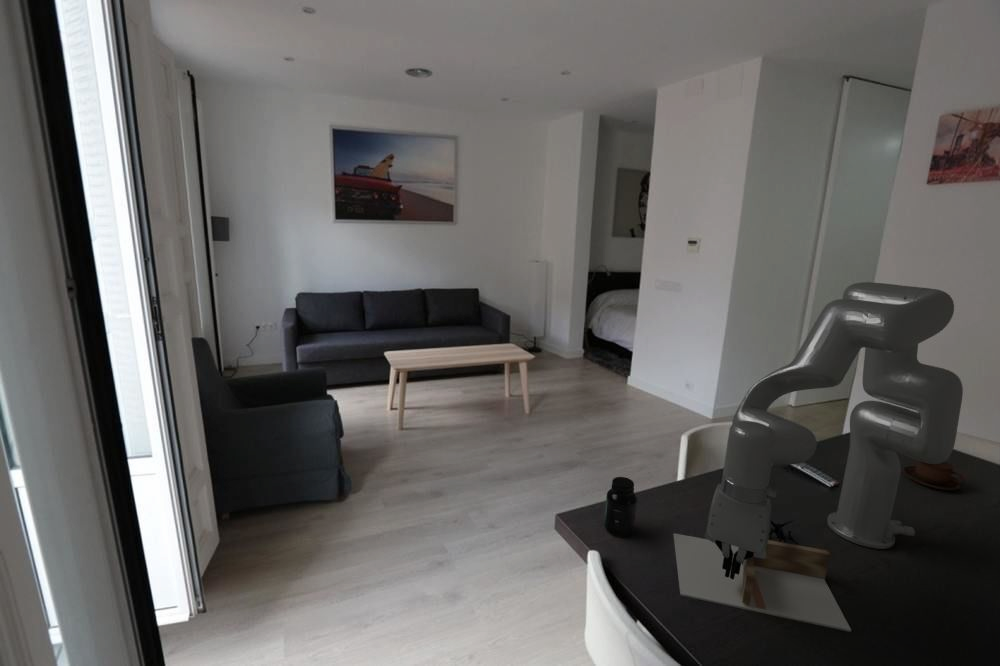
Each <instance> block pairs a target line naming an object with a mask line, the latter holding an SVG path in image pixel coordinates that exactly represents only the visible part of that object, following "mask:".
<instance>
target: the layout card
mask: <svg viewBox="0 0 1000 666" xmlns="http://www.w3.org/2000/svg"><path fill="white" fill-rule="evenodd" d="M673 542H674V551H675V559H676V561H675V562H676V569H677V576H678V577H677V578H678V585H679V593H680V594H679V595H680V596H682V597H686V598H690V599H695V600H699V601H700V600H701V601H705V602H709V603H714V604H718V605H722V606H727V607H733V608H736V609H740V610H741V609H743V610H747V611H750V612H755V613H761V614H765V615H770V616H775V617H779V618H784V619H789V620H794V621H798V622H802V623H806V624H807V623H808V624H812V625H816V626H822V627H826V628H831V629H836V630H839V631H840V630H841V631H844V632H848V633H852V628H851V626H850V625H849V623H848V621H847V619H846V618H845V616H844V613H843V612H842V610H841V608H840V606H839V604H838V602H837V600H836V599H835V597H834V594H833V593H832V590H831V589H830V588H829V586H828V584H827V582H826V577H825V578H819V577H814V576H809V575H804V574H798V573H793V572H788V571H783V570H777V569H772V568H767V567H762V566H757V565H754V582H753V588H752V594H751V601H750V605H747V604H744V603H742V599H743V563H741V567H740V572H739V575H738V574H735V576H734V580H733V579H731V578H730V575H729V577H728V578H727V577H725V572H726V570H725V569H722V566H723V559H724V556H723V555H722V552H721V550H720V549H719V548H718V546H717V545H716V543H713V542H711V541H710V540H708V539H706V538H702V537H696V536H691V535H685V534H680V533H673ZM731 549H732V551H733V552H732V553H733V557H734V553H735V552H736V551H738V549H739V547H736V546H733V545H731ZM732 561H733V559H732ZM731 567H732V566H731ZM730 573H731V571H730Z"/></svg>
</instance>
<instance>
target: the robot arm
mask: <svg viewBox="0 0 1000 666" xmlns="http://www.w3.org/2000/svg"><path fill="white" fill-rule="evenodd" d="M954 312H955V303H954V300H953V298H952V297H951V295H950V294H949V293H947V292H945V291H944V290H941V289H936V288H928V287H919V286H910V285H909V286H908V285H902V284H901V285H900V284H894V283H893V284H892V283H882V282H867V281H865V282H863V281H862V282H856V283H853V284H849V286H847V287H846V288H845V290H844V291H843V294H842V298H840V299H835V300H832V301H829V302H828V303H827V304H826V305H825V306H824V307H823V309H822V310H821V311H820V313H819V315H818V317H817V318H816V321H815V322H814V324H813V326H812V327H811V329H810V331H809V332H808V334H807V336H806V338H805V339H804V341H803V343H802V345H801V346H800V348H799V350H798V351H797V354H796V355H795V357H794V359H793V360H792V361H791V362H790V363H788V364H787V365H785V366H782V367H780V368H778V369H776V370H773V371H772V372H769V374H767V375H765V376H764V377H762V378H761V379H759V380H758V381H757V382H755V383H754V384H753V385H752V386H751V387H750V388H749V390H748V391H747V392H746V394H745V395H744V396H743V399H742V400H741V402H740V404H739V405H738V407H737V409H736V410H735V411H736V412H735V413H734V415H733V418H732V423H731V425H730V428H729V430H728V431H729V432H728V437H727V444H726V451H725V457H724V465H723V471H722V478H721V483H719V484H717V487H716V488H715V491H714V495H713V497H712V502H711V504H710V510H709V513H708V519H707V525H706V530H705V533H704V539H708V540H710V541H711V542H713V543H716V545H717V546H718V548H719V549H720V550H721V552H722V555H723V556H724V559H723V566H722V569H725V570H726V572H725V577H727V578H728V577H729V575H730V578H731V579H733V580H734V576H735V574H738V575H739V572H740V567H741V563H742V562H743V560H746V559H748V558H751V557H756V558H763V559H765V558H767V548H766V547H767V542H768V540H769V538H770V535H769V533H770V528H771V522H770V520H771V518H772V504H771V498H774V499H776V498H777V494H778V490H774V489H773V488H771V486H769V483H770V479H771V471H772V467H773V466H775V465H785V466H788V465H791V466H792V465H798V464H803V463H804V462H806V461H808V460H809V459H811V458H812V457H813V455H814V454H815V452H816V450H817V445H818V441H817V438H816V435H815V434H814V433H813V431H811V430H810V429H809V428H807V427H806V426H804V425H802V424H800V423H797V422H795V421H792V420H789V419H786V418H784V417H782V416H779V415H777V414H774V413H772V412H769V411H768V409H769V408H770V407H771V405H772V404H773V403H774V402H775V401H777V400H778V399H779V398H781V397H782V396H784V395H788V394H790V393H794V392H798V391H805V390H817V389H827V388H835V387H836V386H839V385H840V384H841V383H842V382H843V380H844V379H845V377H846V375H847V373H848V371H849V370H850V368H851V366H852V365H853V362H855V359H856V358H857V356H858V354H859V352H860V351H861V349H863V348H864V356H863V357H864V360H863V369H862V388H863V391H864V393H865V394H867V395H868V396H870V397H872V398H874V399H877V400H865V401H861V402H860V403H859V402H858V404H856V405H855V406H854V407H853V409H852V410H851V413H850V417H849V435H850V436H849V437H850V438H849V449H848V455H847V461H846V465H845V471H844V476H843V480H842V484H841V485H842V486H841V491H840V495H839V501H838V506H837V511H834V512H831V513H829V514H828V516H827V520H826V521H827V526H828V527H829V528H830V529H831V530H832V531H833V532H834V533H835V534H837V535H838V536H839V537H841V538H843V539H845V540H847V541H849V542H851V543H853V544H856V545H859V546H862V547H865V548H871V549H877V550H879V549H881V550H883V549H891V548H892V547H893V546H894V545H895V542H896V537H895V536H896V535H898V534H899V535H903V536H909V537H914V536H915V533H916V532H915V529H914V527H912V526H907V525H903V523H902V521H900V520H897V519H893V520H892V519H891V518H892V513H893V508H894V505H895V500H896V497H897V492H898V487H899V484H900V478H901V476H902V475H901V473H902V467H901V462H900V459H899V456H898V454H899V455H903V456H905V457H906V458H907V457H908V458H911V459H913V460H916V461H917V460H918V461H921V462H924V463H929V464H940V463H942V462H944V461H945V462H947V460H948V459H949V458H950V456H952V452H953V450H954V447H955V444H956V440H957V439H956V438H957V433H958V426H959V420H960V414H961V408H962V403H963V393H964V388H963V383H962V380H961V378H960V377H959V376H958V375H957V374H956V373H955V372H953V371H951V370H949V369H946V368H942V367H939V366H934V365H929V364H925V363H921V361H919V359H918V350H919V344H920V343H921V344H922V342H924V341H925V342H926V340H928V339H930V338H932V337H934V336H936V335H938V334H940V333H941V332H942V331H943V330H944V329H945V328H946V327H947V326H948V324H949V323H950V322H951V320H952V318H953V315H954ZM878 400H880V401H878ZM771 521H772V520H771ZM731 545H733V546H736V547H739V549H738V551H736V552H735V553H734V557H733V553H732V552H733V551H732V549H731ZM732 559H733V561H732ZM731 566H732V567H731ZM730 571H731V573H730Z"/></svg>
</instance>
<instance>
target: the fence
mask: <svg viewBox="0 0 1000 666" xmlns="http://www.w3.org/2000/svg"><path fill="white" fill-rule="evenodd" d="M766 548H767V558H765V559H763V558H756V557H754V565H757V566H762V567H767V568H772V569H777V570H783V571H788V572H793V573H798V574H804V575H809V576H814V577H819V578H825V579H826V576H827V571H828V566H829V561H830V556H831V554H830V552H829V551H828V550H825V549H821V548H815V547H810V546H806V545H805V546H804V545H800V544H799V545H798V544H792V543H789V542H786V543H784V542H782V541H781V542H779V541H776V540H769V539H768V542H767V547H766ZM742 563H744V560H743V562H742Z"/></svg>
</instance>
